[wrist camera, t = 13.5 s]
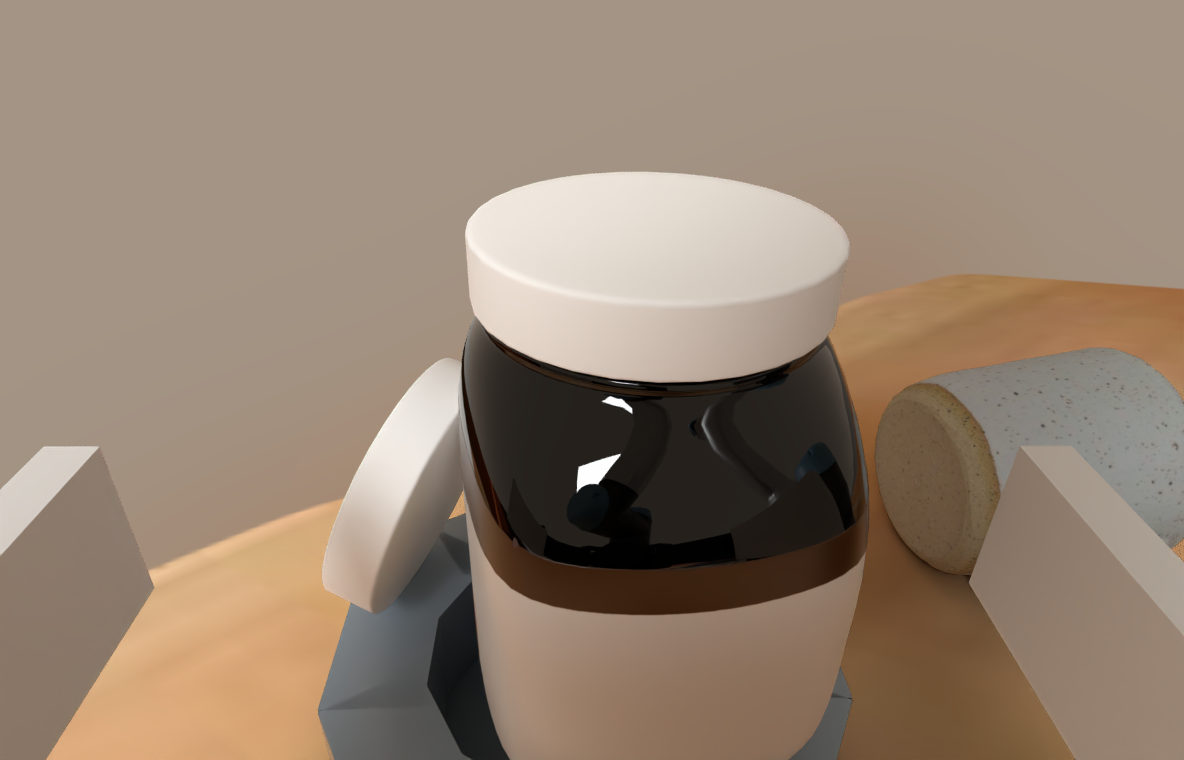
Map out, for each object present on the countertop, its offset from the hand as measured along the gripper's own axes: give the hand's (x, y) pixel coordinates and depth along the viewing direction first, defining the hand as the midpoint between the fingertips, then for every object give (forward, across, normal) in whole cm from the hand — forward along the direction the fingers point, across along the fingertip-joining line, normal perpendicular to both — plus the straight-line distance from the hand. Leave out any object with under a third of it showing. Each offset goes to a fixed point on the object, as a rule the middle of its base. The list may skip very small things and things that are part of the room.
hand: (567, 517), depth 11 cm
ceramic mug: (+12, +17, -13) cm, 24 cm away
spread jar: (+5, 0, -9) cm, 10 cm away
